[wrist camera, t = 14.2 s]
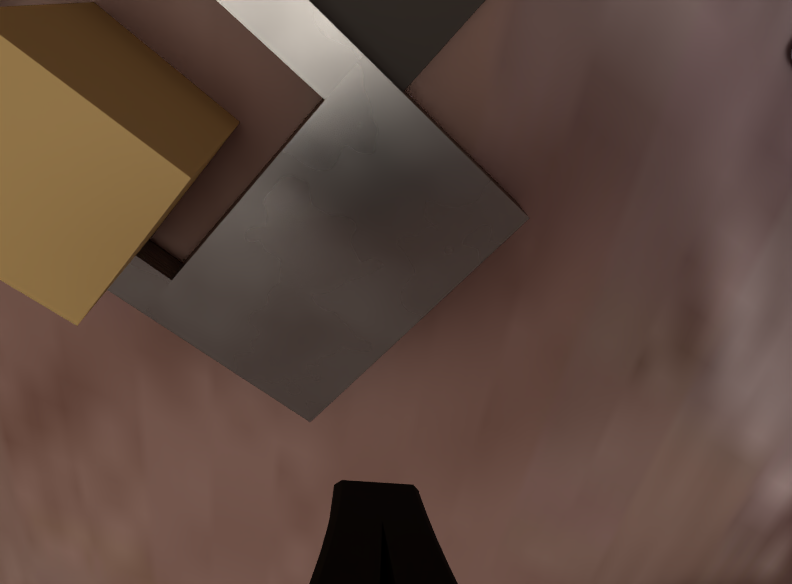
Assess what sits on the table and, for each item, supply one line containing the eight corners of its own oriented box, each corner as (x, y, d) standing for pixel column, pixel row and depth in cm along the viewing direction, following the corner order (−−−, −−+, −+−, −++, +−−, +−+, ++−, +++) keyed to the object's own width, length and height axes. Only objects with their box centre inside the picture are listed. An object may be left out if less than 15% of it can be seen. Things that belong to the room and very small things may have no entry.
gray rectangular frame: (519, 204, 18) (547, 242, 15) (312, 400, 21) (305, 459, 18) (72, -238, 13) (-4, -299, 10) (-120, 110, 16) (-218, 134, 13)
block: (240, 122, 16) (191, 178, 11) (153, 233, 18) (77, 325, 13) (94, 2, 15) (-36, 8, 10) (11, 134, 16) (-138, 197, 11)
